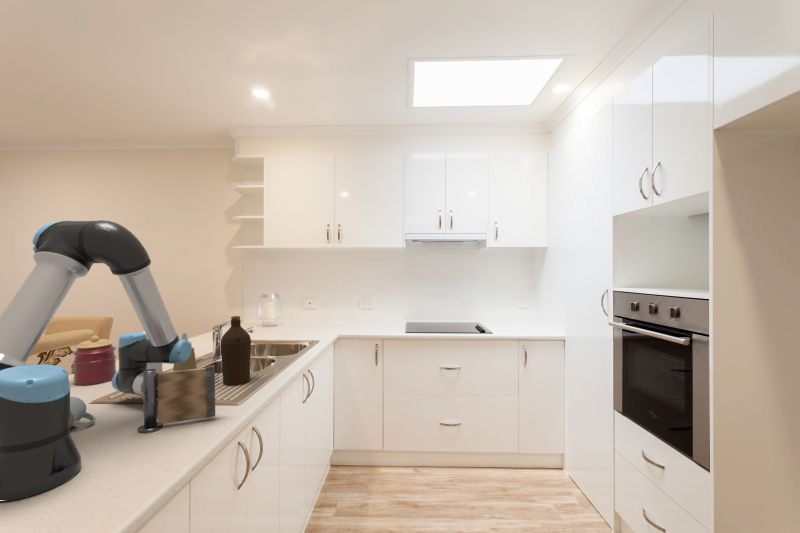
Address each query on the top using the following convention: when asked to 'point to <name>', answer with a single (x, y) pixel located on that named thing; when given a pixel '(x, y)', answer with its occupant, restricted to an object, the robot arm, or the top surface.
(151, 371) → the gate post
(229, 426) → the top surface
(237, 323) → the olive oil
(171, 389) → the gate
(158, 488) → the top surface
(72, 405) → the ceramic mug
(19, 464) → the robot arm
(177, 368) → the squeeze bottle
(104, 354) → the canister
